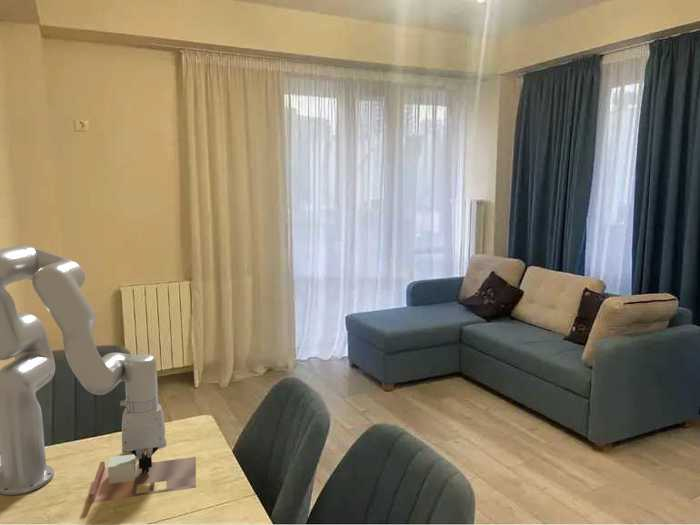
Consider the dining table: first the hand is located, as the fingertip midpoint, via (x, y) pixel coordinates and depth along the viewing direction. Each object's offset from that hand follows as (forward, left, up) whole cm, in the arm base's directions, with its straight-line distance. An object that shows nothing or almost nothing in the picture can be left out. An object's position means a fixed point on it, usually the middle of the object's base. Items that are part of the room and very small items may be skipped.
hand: (145, 469), depth 134 cm
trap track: (0, -2, -2) cm, 3 cm away
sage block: (-6, 0, -1) cm, 6 cm away
